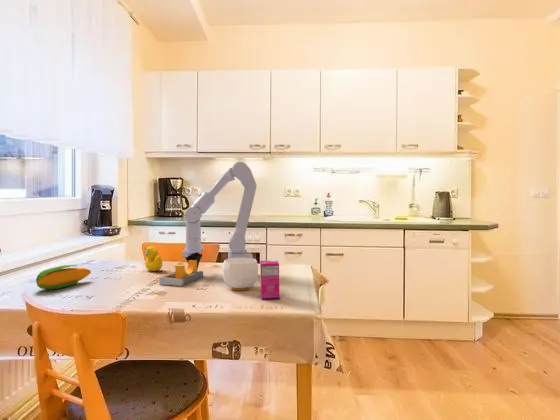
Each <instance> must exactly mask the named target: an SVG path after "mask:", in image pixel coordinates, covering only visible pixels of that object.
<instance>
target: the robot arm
mask: <svg viewBox="0 0 560 420" xmlns="http://www.w3.org/2000/svg"><path fill="white" fill-rule="evenodd" d="M236 179H237V180H239V182H240V183H241V185H242V186H243V188H244V190H243V194H242V198H241V203H240V206H239V212H238V215H237V219H236V223H235V226H234V231H233V234H232V236H230V238H229V243H228V248H229V250H228V254H227V256H228V257H227V259H230V258H252V259H254V255H253V253H252V252H248V251H247V249H245V248H246V238H245V237H246V233H247V228H248V224H249V220H250V216H251V212H252V208H253V203H254V198H255V195H256V191H257V183H256V180H255V177H254V174H253V172H252V170H251V168H250V167H249V166H248V164H247V163H245V162H244V161H237V162H235V163H234V164H233V165H232V166H231V167H230V168H228V169H227V170H226V171H225V172H224V173H223V174H222V175H221V176H220V177H219V179H218V180H217V181H216V182H215V184H214V185H212V187H211V188H210V189H209V191H203V192H202V193H200V194H198V197H197V199H196V200H195V201H194V202H193V203H190V207H187V208H186V211H185V213H184V218H185V220H186V221H185V225H186V226H185V248H184V249H183V251H182V252H181V257H182V258H185V260H186V262H187V263H188V261H189V260H197V270H198V269H199V264H200V261H201V259H202V257H203V254H202V253H203V252H205V246H202V242H201V241H202V237H201V236H202V226H201V218H202V215H203V214H206V212H208V210H209V209H210V208H211V206H213V204H214V203H216V201H215V200H216V199H215V197H216V196H217V195H218V194H219V193H220V192H221V190H223V188H224V187H226V185H227V184H228V183H230V182H233V181H235V180H236Z"/></svg>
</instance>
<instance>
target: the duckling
mask: <svg viewBox="0 0 560 420" xmlns="http://www.w3.org/2000/svg"><path fill="white" fill-rule="evenodd" d="M144 254H145V256H146V259H145V261H144V264H145V268H146V269H147V270H148V271H150V272H157V271H160V270H161V269H162V267H163V259H162V257H161V256H159V255H158V254H159V251H158V248H157V247H156V246H151V245H150V246H147V247H145V248H144Z"/></svg>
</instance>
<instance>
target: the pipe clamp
mask: <svg viewBox="0 0 560 420" xmlns="http://www.w3.org/2000/svg"><path fill="white" fill-rule="evenodd" d="M174 267H175V269H174V272H175V278H180V279H181V278H183V277H185V276H188V275H190V274H192V273H195V272H198V269H197V260H189V261H188V262H187V267H185V264H177V265H175V266H174Z"/></svg>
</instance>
